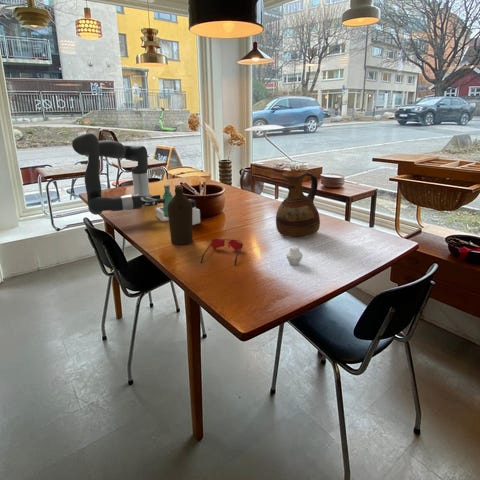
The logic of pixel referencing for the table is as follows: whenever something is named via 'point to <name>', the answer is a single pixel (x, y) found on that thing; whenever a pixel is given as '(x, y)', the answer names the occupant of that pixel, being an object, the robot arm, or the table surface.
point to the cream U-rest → (161, 214)
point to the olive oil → (180, 218)
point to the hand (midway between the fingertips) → (162, 198)
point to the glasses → (220, 242)
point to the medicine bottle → (195, 213)
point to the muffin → (294, 256)
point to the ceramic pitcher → (298, 207)
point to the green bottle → (166, 199)
